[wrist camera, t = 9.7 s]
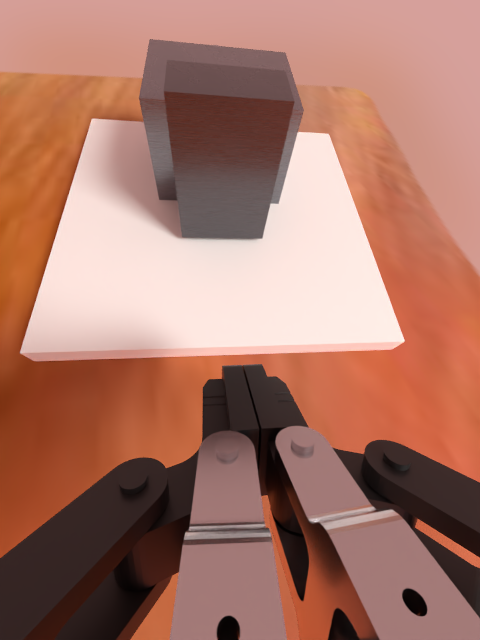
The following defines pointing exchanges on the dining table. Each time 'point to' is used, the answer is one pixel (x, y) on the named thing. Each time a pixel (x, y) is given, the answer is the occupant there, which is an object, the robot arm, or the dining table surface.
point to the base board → (205, 267)
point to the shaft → (225, 145)
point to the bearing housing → (156, 108)
